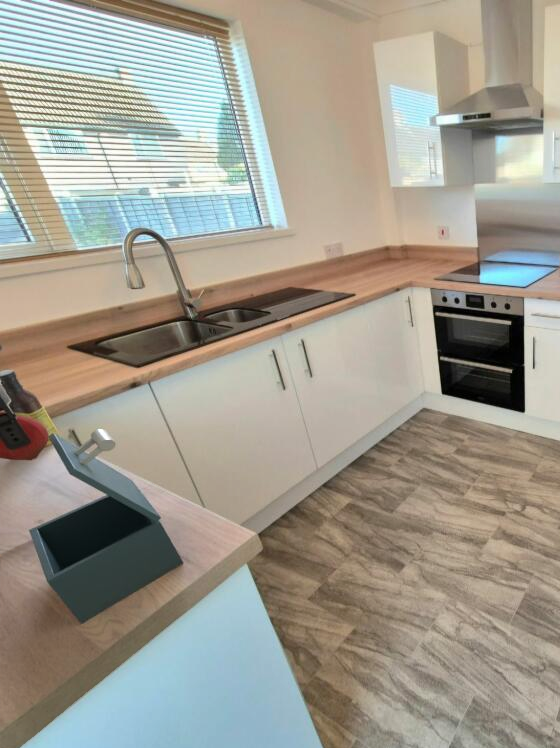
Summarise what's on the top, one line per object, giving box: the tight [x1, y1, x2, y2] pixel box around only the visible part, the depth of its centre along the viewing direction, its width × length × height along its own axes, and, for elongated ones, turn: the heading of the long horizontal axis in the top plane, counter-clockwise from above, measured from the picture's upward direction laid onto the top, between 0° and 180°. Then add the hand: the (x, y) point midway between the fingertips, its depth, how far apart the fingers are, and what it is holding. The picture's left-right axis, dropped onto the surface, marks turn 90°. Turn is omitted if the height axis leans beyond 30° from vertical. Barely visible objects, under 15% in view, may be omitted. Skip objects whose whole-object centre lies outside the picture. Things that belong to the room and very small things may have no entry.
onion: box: [0, 410, 48, 461], centre depth 59 cm, size 6×6×8 cm
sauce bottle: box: [0, 369, 62, 448], centre depth 97 cm, size 7×6×20 cm
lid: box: [48, 428, 162, 522], centre depth 65 cm, size 14×16×5 cm
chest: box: [28, 494, 184, 625], centre depth 67 cm, size 13×16×9 cm
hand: (17, 438), depth 60 cm, fingers closed on onion, 5 cm apart
